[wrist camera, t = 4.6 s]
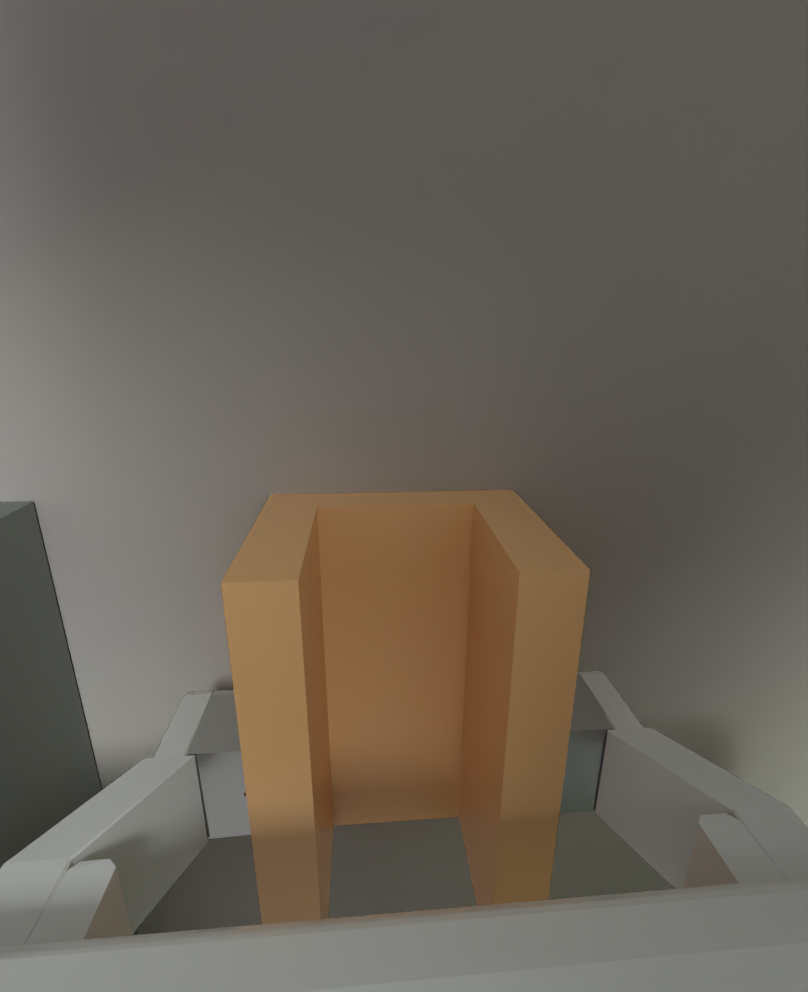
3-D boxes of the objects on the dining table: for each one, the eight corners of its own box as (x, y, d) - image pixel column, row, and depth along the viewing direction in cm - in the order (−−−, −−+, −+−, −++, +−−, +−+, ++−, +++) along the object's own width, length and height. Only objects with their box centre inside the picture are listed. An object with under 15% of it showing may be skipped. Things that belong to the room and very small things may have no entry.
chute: (271, 491, 10) (219, 583, 7) (509, 486, 11) (590, 569, 7) (296, 792, 13) (269, 984, 9) (489, 779, 13) (541, 958, 9)
